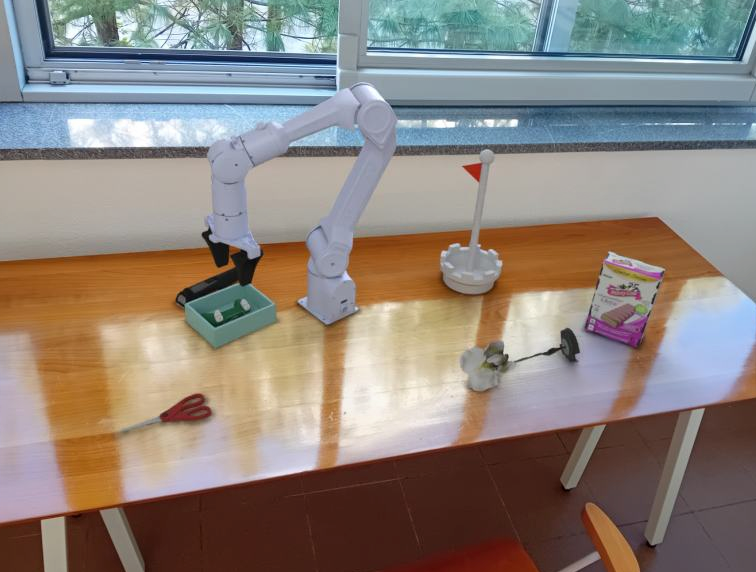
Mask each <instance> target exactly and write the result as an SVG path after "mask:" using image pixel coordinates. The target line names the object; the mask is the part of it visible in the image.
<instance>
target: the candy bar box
mask: <svg viewBox="0 0 756 572" xmlns="http://www.w3.org/2000/svg"><path fill="white" fill-rule="evenodd" d="M665 273H666V269H665V268H663V267H660V266H657V265H653V264H650V263H647V262H644V261H640V260H637V259H635V258H631V257H628V256H625V255H621V254H619V253H615V252H612V251H608V252H607V254H606V256H605V258H604V260H603V261H602V264H601V268H600V271H599V275H598V279H597V282H596V285H595V290H594V293H593V296H592V300H591V304H590V307H589V310H588V314H587V318H586V321H585V324H584V331H587V332H589V333H593V334H595V335H598V336H600V337H601V336H602V337H604V338H607V339H610V340H613V341H616V342H618V343H621V344H625V345H627V346H630V347H633V348H636V349H639V348H640V345H641V343H642V341H643V339H644V336H645V333H646V330H647V326H648V324H649V320H650V317H651V314H652V311H653V310H654V305H655V302H656V299H657V296H658V293H659V290H660V289H661V288H660V287H661V285H662V282H663V279H664V276H665Z"/></svg>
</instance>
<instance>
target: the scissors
mask: <svg viewBox="0 0 756 572" xmlns="http://www.w3.org/2000/svg"><path fill="white" fill-rule="evenodd" d="M195 399H199V400H197V401H194V402H190V401H192V400H195ZM188 402H190V403H188ZM204 403H205V395H204V394H203V393H193V394H190V395H187V396H186V397H184V398H183V399H181V400H180V401H178V402H177V403H175V404H174V405H173V406H171V407H170V408H168V409H166V410H165V411H163V412H161V413H160V414H159V416H156V417H155V418H152V419H148V420H146V421H143V422H140V423H137V424H135V425H132V426H129V427H126V428H123V429H119V430H117V431H116V432H115V433H116V434H118V433H123V432H126V431H130V430H133V429H137V428H140V427H143V426H147V425H150V424H154V423H157V422H158V423H159V422H162V423H169V422H194V421H200V420H204V419H207V418H208V417H210V416H211V414H212V410H211V408H210V406H208V405H203V404H204ZM185 410H186V411H185ZM203 411H205V413H202V414H197V415H193V414H196V413H199V412H203Z"/></svg>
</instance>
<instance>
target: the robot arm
mask: <svg viewBox="0 0 756 572" xmlns="http://www.w3.org/2000/svg"><path fill="white" fill-rule="evenodd" d="M398 122H399V121H398V117H397V116H396V113H395V112H394V110H393V107H391V104H389V103H388V102H387V101H386V100H385V99H384V98H383V96H382V95H381V94H380V93H379V91H378V89H377V88H376V87H375V86H374V85H373V84H371V83H369V82H364V81H362V82H356V83H354V84H353V85H351V86H350V87H346V88H342V89H340V90H338V92H336V93H335V94H333V96H331V97H330V98H328V99H326V100H324V101H322V102H320V103H318V104H316V105H315V106H313V107H311V108H308V109H307V110H305V111H303V112H301V113H300V114H298V115H296V116H294V117H292V118H290V119H288V120H286V121H285V122H283V123H282V122H281V123H280V122H276V121H272V120H270V121H268V122H264V120H262V121H259V122H257V123H256V124H255V125H256V127H254V128H252V129H249V130H248V131H245V132H243V133H241V134H238V135H236V134H234V135H231V136H229V138H227V139H226V138H220V139H217V140H216V141H214V142H212V144H211V146H210V147H209V148H208V150H207V153H206V158H207V161H208V163H209V167H210V170H211V175H210V180H211V185H210V188H211V205H212V213H211V214H207V215H205V216H203V217H204V218H203V219H204V226H205V227H206V228H207V230H204V231H203V232H201V237H202V239H203V240H204V242H205V243H206V245H207V246H208V248H209V251H210V253H211V256H212V259H213V261H214V264H215V266H216V268H217V269H220V268H223V267H225V266H228V265H229V261H230V259H231V260H232V262H233V264H234V267H236V270H237V275H238V283H239V284H240V285H241V286H242V287H243V286H246V285H248V284H251V285H252V283H253V280H254V275H255V272H256V270H257V269H256V268H257V266H258V264H259V262H261V259H262V258H263V256H264V250H263V249H262V248H261V245H259V244H258V243H257V242H256V240H255V238H254V236H253V235H252V232H251V230H250V228H249V222H248V199H247V198H248V197H247V184H246V181H245V179H246V177H247V175H248V173H249V171H250V170H253V169H254V168H256V167H258V166H260V165H262V164H264V163H267V162H269V161H271V160H273V159H275V158H277V157H280V156H282V155H284V154H287V152H288V150H289V147H290V145H291V143H294V142H296V141H298V140H301V139H303V138H306V137H309V136H311V135H314V134H316V133H319V132H321V131H324V130H326V129H330V128H332V127H338V128H341V129H344V130H348V131H351V132H355V131H356V127H355V126H358V128H359V130H360V131H359V132H360V133H361V136H362V139H363V142H364V144H363V146H362V148H361V150H360V152H359V154H358V155H357V158H356V160H355V162H354V163H353V165H352V168H351V170H350V172H349V173H348V175H347V177H346V179H345V181H344V183H343V186H342V187H341V189H340V191H339V193H338V195H337V197H336V199H335V200H334V203H333V204H332V207H331V209H330V211H329V213H328V215H326V216H322V217H321V218H320V219H319V221H318V223H317V224H316V225H315V226H314V227H313V228H312V229H310V230H309V232H308V233H307V234H306V237H305V246H306V248H307V250H308V251H309V253H310V256H309V259H308V261H307V264H306V265H307V266H306V267H307V268H306V271H307V273H306V280H307V282H306V296H304V297H302V298H299V299H298V300H297V304H298V305H299V306H301V307H303V308H304V309H305V310H306V311H308V312H309V313H310V314H311V315H313V316H314V317H315V318H316V319H318V320H319V321H321V322H322V323H323V324H324V325H326V326H328V325H332V324H333V323H335V322H337V321H339V320H341V319H343V318H345V317H348V316H351V315H352V314H354V313H356V312H358V311H359V307H358V306H356V300H357V299H356V298H357V285H356V283H355V281H354V280H353V278H351V276H350V275H349V274H348V272H347V269H348V267H349V264H350V254H351V251H352V250H353V243H354V242H353V241H354V230H355V229H356V227H357V224H358V223H359V220H360V218H361V216H362V215H363V213H364V211H365V210H366V207H367V206H368V203H369V201H370V200H371V198H372V196H373V194H374V192H375V190H376V188H377V187H378V184H379V183H380V181H381V178H382V177H383V175H384V173H385V171H386V169H387V168H388V166H389V163H390V161H391V159H392V158H393V156H394V154H395V152H396V150H397V124H398ZM230 247H233V248H237V249H239V251H237V252H235V253H232V254H230Z"/></svg>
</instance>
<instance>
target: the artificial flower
mask: <svg viewBox="0 0 756 572" xmlns="http://www.w3.org/2000/svg"><path fill="white" fill-rule="evenodd" d="M559 332H560V343H559V347H552V348H549V349H547V351H543V352H538V353H535V354H533V355H530V356H526V357H522V358H519V359H517V360H511V361H510V360H509V358H510V357H509V354H508V353H505V354H504V352H505V343H504V340H495V341H491V342H489V343H488V344H487V345H486V347H485V348H484V349H483V348H481V347H480V346H472V348H469V349H465V350H464V351H463V352H462V354H461V356H460V357H459V366H460V367H459V368H460V369H461V370H462V371H463V372H464V373H467V374H468V377H467V379H466V382H467V383H468V387H469V389H472V390H473V391H475V392H484V391H486V390H489V389H492V388H496V386H497V385H498V382H499V378H498V375H504V374H507V373H509V372H510V371H512V370H513V369H514V368H515V367H516V365H517V364H516V363H520V362H523V361H526V360H530V359H533V358H536V357H539V356H544V357H545V356H547V357H549V356H552V355H554V354H556V353H557V352H559V351H561V354H562V355H563V356H565V358H566V359H567V360H568V361H569V362H573V363H579V361H580V360H579V359H577V358H576V355H579V354H581V351H580V344H579V341H578V339H577V336H576V334H575V333H574V331H573V330H572V329H571V328H570V327H565V328H564V329H561V330H560V331H559Z"/></svg>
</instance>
